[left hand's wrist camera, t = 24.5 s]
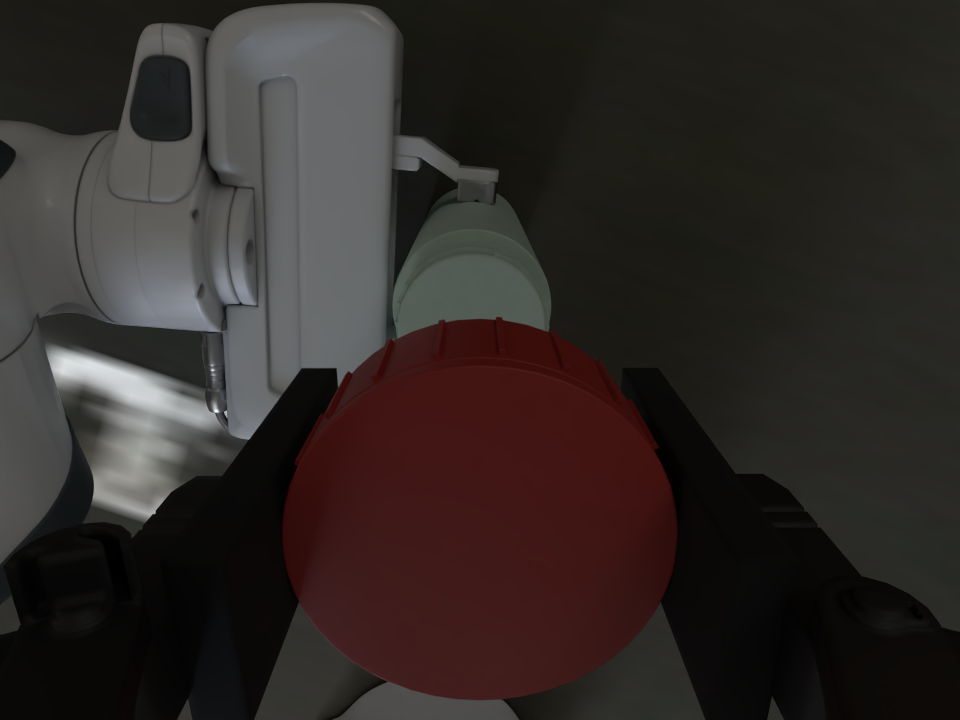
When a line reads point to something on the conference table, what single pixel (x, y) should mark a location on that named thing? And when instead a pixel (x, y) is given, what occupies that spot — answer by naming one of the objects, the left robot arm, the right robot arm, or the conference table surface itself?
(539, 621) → the lid
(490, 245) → the jar
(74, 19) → the conference table surface
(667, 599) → the left robot arm
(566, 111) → the conference table surface
